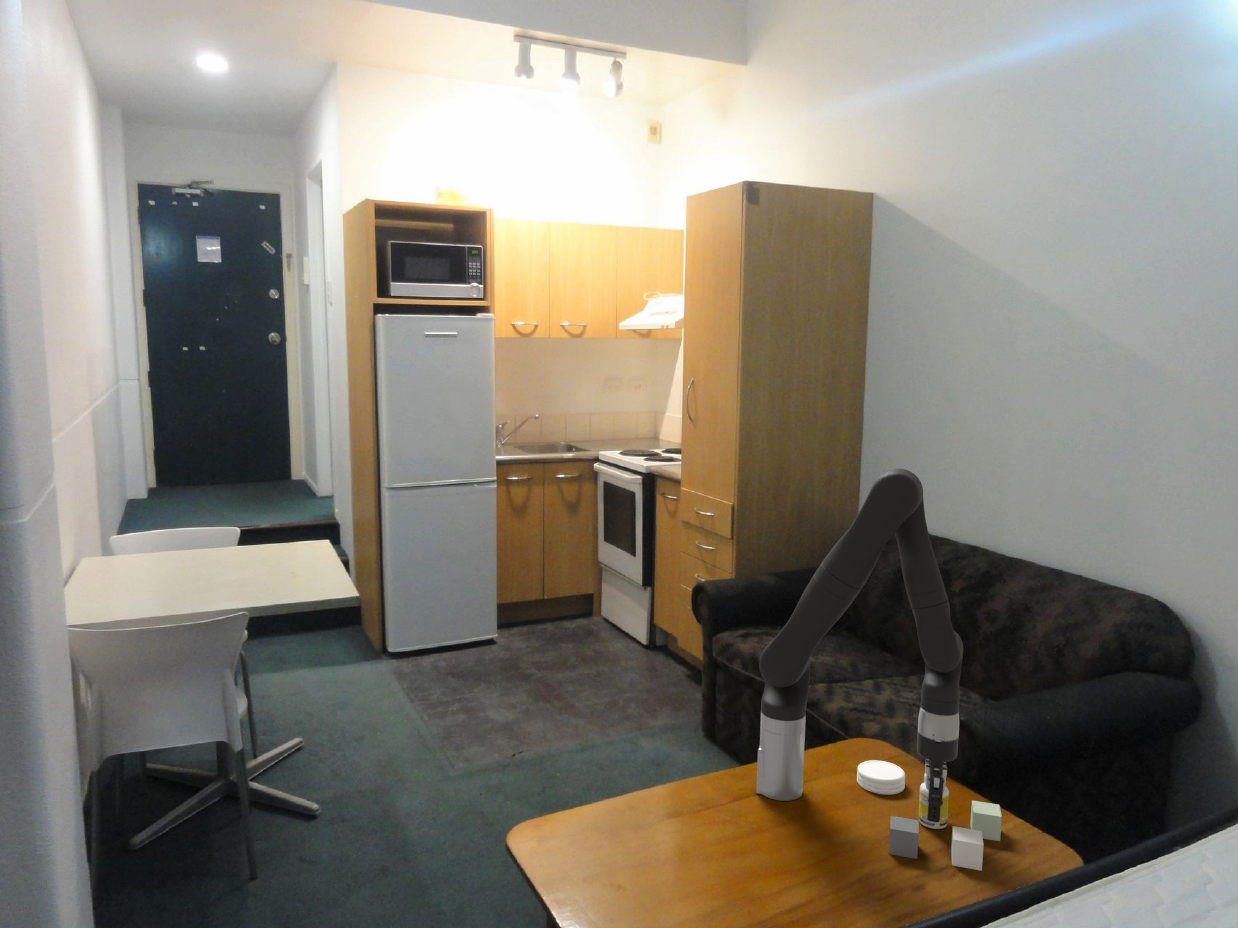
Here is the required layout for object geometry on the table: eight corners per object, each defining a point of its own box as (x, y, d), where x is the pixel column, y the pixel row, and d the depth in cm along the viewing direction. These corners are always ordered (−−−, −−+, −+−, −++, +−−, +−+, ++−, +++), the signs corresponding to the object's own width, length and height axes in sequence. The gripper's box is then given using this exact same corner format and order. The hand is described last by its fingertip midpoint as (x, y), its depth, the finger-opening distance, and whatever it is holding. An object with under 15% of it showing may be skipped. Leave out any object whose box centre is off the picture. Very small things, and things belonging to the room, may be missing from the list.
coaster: (848, 776, 193) (848, 761, 193) (888, 772, 195) (889, 757, 195) (871, 798, 183) (872, 782, 183) (914, 793, 186) (914, 777, 185)
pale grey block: (952, 865, 158) (953, 839, 158) (951, 851, 163) (952, 825, 162) (981, 871, 157) (983, 844, 156) (980, 856, 161) (981, 830, 161)
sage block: (971, 836, 168) (973, 812, 168) (970, 824, 173) (971, 800, 172) (1000, 841, 167) (1001, 816, 166) (997, 828, 171) (999, 804, 171)
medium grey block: (888, 854, 162) (889, 828, 161) (889, 840, 166) (890, 815, 166) (917, 859, 160) (918, 833, 160) (917, 845, 165) (918, 820, 164)
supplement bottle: (942, 816, 175) (945, 770, 174) (950, 830, 170) (953, 782, 169) (915, 815, 176) (917, 768, 175) (921, 828, 170) (924, 780, 169)
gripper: (917, 715, 179) (913, 793, 181) (917, 742, 165) (913, 827, 167) (957, 720, 176) (952, 800, 178) (960, 748, 163) (955, 835, 165)
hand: (933, 813), depth 173 cm, fingers closed on supplement bottle, 5 cm apart
